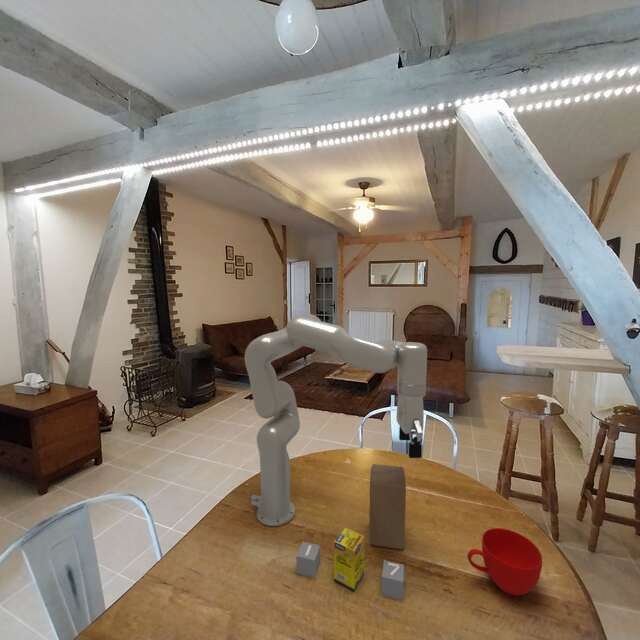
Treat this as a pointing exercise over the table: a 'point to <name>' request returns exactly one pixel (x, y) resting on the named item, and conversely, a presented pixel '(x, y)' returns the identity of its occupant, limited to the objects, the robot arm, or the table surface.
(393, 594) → the slate block
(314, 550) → the slate block
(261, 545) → the table surface
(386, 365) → the robot arm
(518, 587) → the ceramic cup
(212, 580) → the table surface
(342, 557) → the supplement box
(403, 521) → the block
